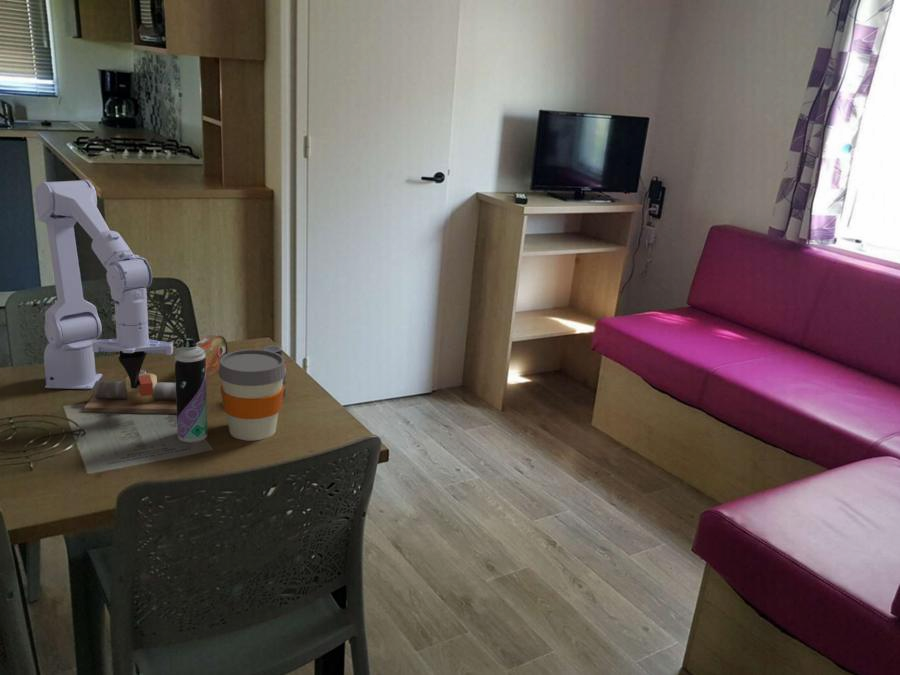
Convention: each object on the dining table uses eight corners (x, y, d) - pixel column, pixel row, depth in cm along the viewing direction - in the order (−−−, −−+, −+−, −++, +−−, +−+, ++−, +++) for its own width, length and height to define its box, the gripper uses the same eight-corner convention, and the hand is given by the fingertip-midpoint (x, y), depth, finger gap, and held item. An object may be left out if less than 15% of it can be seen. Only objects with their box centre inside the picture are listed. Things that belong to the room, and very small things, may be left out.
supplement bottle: (252, 397, 167) (251, 348, 163) (269, 388, 172) (270, 341, 168) (273, 404, 164) (273, 355, 161) (291, 395, 170) (291, 347, 166)
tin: (194, 386, 170) (193, 351, 167) (182, 384, 171) (180, 349, 168) (229, 364, 184) (228, 331, 181) (217, 362, 185) (216, 329, 182)
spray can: (180, 444, 144) (176, 345, 138) (175, 432, 149) (171, 335, 142) (210, 440, 147) (207, 342, 140) (204, 428, 151) (201, 333, 145)
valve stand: (84, 411, 154) (82, 386, 152) (99, 392, 163) (98, 367, 161) (187, 413, 157) (186, 388, 155) (196, 394, 166) (195, 370, 164)
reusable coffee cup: (211, 423, 153) (209, 354, 148) (270, 412, 160) (270, 345, 155) (233, 450, 144) (232, 376, 139) (295, 436, 151) (296, 366, 146)
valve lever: (134, 376, 158) (134, 365, 158) (146, 375, 159) (145, 364, 159) (141, 396, 150) (140, 384, 149) (153, 395, 151) (152, 382, 150)
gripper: (85, 326, 142) (90, 393, 146) (166, 329, 144) (168, 395, 148) (97, 314, 148) (101, 379, 153) (174, 318, 150) (176, 381, 155)
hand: (135, 386), depth 151 cm, fingers closed, pressing on valve lever
